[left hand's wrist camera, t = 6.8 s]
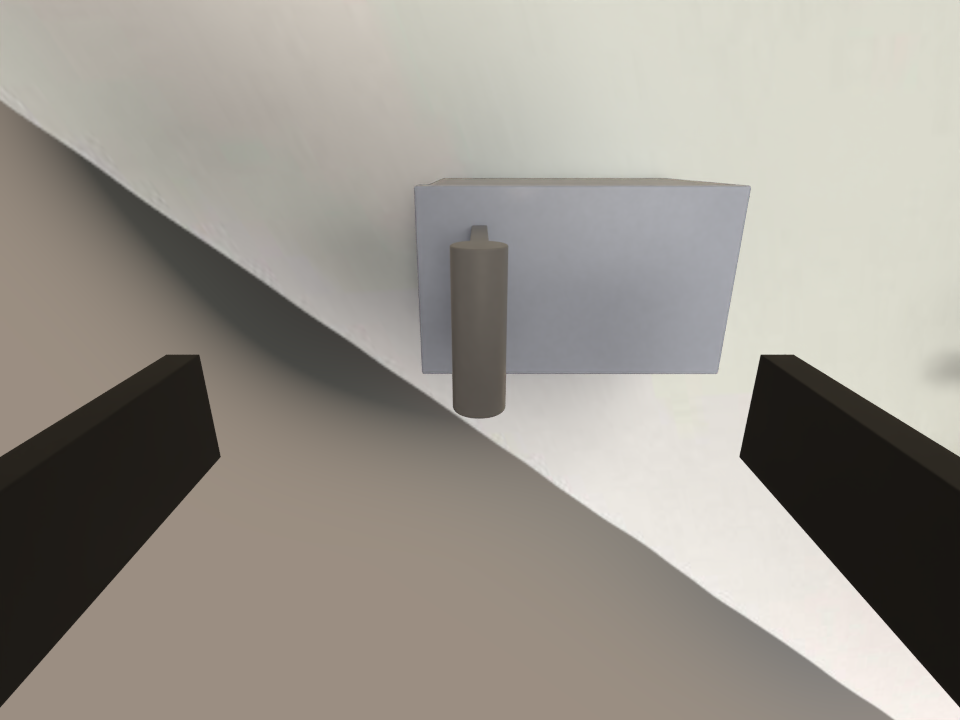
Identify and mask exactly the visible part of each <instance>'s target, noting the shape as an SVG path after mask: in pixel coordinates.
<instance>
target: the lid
mask: <svg viewBox="0 0 960 720" xmlns="http://www.w3.org/2000/svg"><path fill="white" fill-rule="evenodd" d="M750 190H751V187H750V186H746V185H417V186H415V187H414V195H415V218H416V241H417V264H418V287H419V310H420V333H421V356H422V372H423V373H424V374H452V379H453V408H454V410H455V411H456V412H457V413H458V414H460V415H462V416H465V417H469V418H490V417H494V416H496V415H499V414H500V413H502V412H503V411H504V409H505V395H506V374H717V373H718V368H719V362H720V357H721V351H722V346H723V340H724V335H725V329H726V323H727V318H728V312H729V307H730V301H731V296H732V290H733V284H734V279H735V273H736V268H737V262H738V257H739V251H740V245H741V240H742V234H743V229H744V223H745V218H746V212H747V206H748V201H749V195H750Z"/></svg>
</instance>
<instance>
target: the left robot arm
mask: <svg viewBox="0 0 960 720" xmlns="http://www.w3.org/2000/svg"><path fill="white" fill-rule="evenodd" d="M220 457H221V456H220V452H219V447H218V442H217V437H216V433H215V428H214V423H213V419H212V414H211V409H210V404H209V399H208V394H207V390H206V385H205V380H204V375H203V370H202V366H201V361H200V356H199V355H165V356H164V357H162V358H160V359H159V360H157V361H156V362H154V363H152V364H151V365H149V366H147V367H146V368H144V369H143V370H141V371H139V372H138V373H136V374H134V375H133V376H131V377H130V378H128V379H126V380H125V381H123V382H121V383H120V384H118V385H116V386H115V387H113V388H112V389H110V390H108V391H107V392H105V393H103V394H102V395H100V396H99V397H97V398H95V399H94V400H92V401H90V402H89V403H87V404H86V405H84V406H82V407H81V408H79V409H78V410H76V411H74V412H73V413H71V414H69V415H68V416H66V417H64V418H63V419H61V420H60V421H58V422H56V423H55V424H53V425H51V426H50V427H48V428H47V429H45V430H43V431H42V432H40V433H39V434H37V435H35V436H34V437H32V438H30V439H29V440H27V441H25V442H24V443H22V444H21V445H19V446H17V447H16V448H14V449H13V450H11V451H9V452H8V453H6V454H4V455H3V456H1V457H0V707H1V706H2V705H3V704H4V703H5V701H6V700H7V699H8V698H9V697H10V696H11V695H12V693H13V692H14V691H15V690H16V689H17V688H18V687H19V686H20V684H21V683H22V682H23V681H24V680H25V679H26V678H27V676H28V675H29V674H30V673H31V672H32V671H33V670H34V668H35V667H36V666H37V665H38V664H39V663H40V662H41V660H42V659H43V658H44V657H45V656H46V655H47V654H48V653H49V651H50V650H51V649H52V648H53V647H54V646H55V645H56V643H57V642H58V641H59V640H60V639H61V638H62V637H63V635H64V634H65V633H66V632H67V631H68V630H69V629H70V628H71V626H72V625H73V624H74V623H75V622H76V621H77V620H78V618H79V617H80V616H81V615H82V614H83V613H84V612H85V610H86V609H87V608H88V607H89V606H90V605H91V604H92V602H93V601H94V600H95V599H96V598H97V597H98V596H99V595H100V593H101V592H102V591H103V590H104V589H105V588H106V587H107V585H108V584H109V583H110V582H111V581H112V580H113V579H114V578H115V576H116V575H117V574H118V573H119V572H120V571H121V570H122V568H123V567H124V566H125V565H126V564H127V563H128V562H129V560H130V559H131V558H132V557H133V556H134V555H135V554H136V552H137V551H138V550H139V549H140V548H141V547H142V546H143V545H144V543H145V542H146V541H147V540H148V539H149V538H150V536H151V535H152V534H153V533H154V532H155V531H156V530H157V529H158V527H159V526H160V525H161V524H162V523H163V522H164V521H165V520H166V518H167V517H168V516H169V515H170V514H171V513H172V512H173V510H174V509H175V508H176V507H177V506H178V505H179V504H180V502H181V501H182V500H183V499H184V498H185V497H186V496H187V494H188V493H189V492H190V491H191V490H192V489H193V488H194V486H195V485H196V484H197V483H198V482H199V481H200V480H201V479H202V477H203V476H204V475H205V474H206V473H207V472H208V471H209V469H210V468H211V467H212V466H213V465H214V464H215V463H216V462H217V460H218V459H219V458H220ZM739 457H740V458H741V459H742V460H743V462H744V463H745V464H746V465H747V466H748V467H749V468H750V469H751V471H752V472H753V473H754V474H755V475H756V476H757V477H758V479H759V480H760V481H761V482H762V483H763V484H764V485H765V487H766V488H767V489H768V490H769V491H770V492H771V493H772V494H773V496H774V497H775V498H776V499H777V500H778V501H779V502H780V504H781V505H782V506H783V507H784V508H785V509H786V510H787V512H788V513H789V514H790V515H791V516H792V517H793V518H794V520H795V521H796V522H797V523H798V524H799V525H800V526H801V527H802V529H803V530H804V531H805V532H806V533H807V534H808V535H809V537H810V538H811V539H812V540H813V541H814V542H815V543H816V545H817V546H818V547H819V548H820V549H821V550H822V551H823V552H824V554H825V555H826V556H827V557H828V558H829V559H830V560H831V562H832V563H833V564H834V565H835V566H836V567H837V568H838V570H839V571H840V572H841V573H842V574H843V575H844V576H845V578H846V579H847V580H848V581H849V582H850V583H851V584H852V585H853V587H854V588H855V589H856V590H857V591H858V592H859V593H860V595H861V596H862V597H863V598H864V599H865V600H866V601H867V603H868V604H869V605H870V606H871V607H872V608H873V609H874V610H875V612H876V613H877V614H878V615H879V616H880V617H881V618H882V620H883V621H884V622H885V623H886V624H887V625H888V626H889V628H890V629H891V630H892V631H893V632H894V633H895V634H896V635H897V637H898V638H899V639H900V640H901V641H902V642H903V643H904V645H905V646H906V647H907V648H908V649H909V650H910V651H911V653H912V654H913V655H914V656H915V657H916V658H917V659H918V661H919V662H920V663H921V664H922V665H923V666H924V667H925V668H926V670H927V671H928V672H929V673H930V674H931V675H932V676H933V678H934V679H935V680H936V681H937V682H938V683H939V684H940V686H941V687H942V688H943V689H944V690H945V691H946V692H947V693H948V695H949V696H950V697H951V698H952V699H953V700H954V701H955V703H956V704H957V705H958V706H959V707H960V457H959V456H957V455H956V454H954V453H952V452H951V451H949V450H948V449H946V448H944V447H943V446H941V445H939V444H938V443H936V442H935V441H933V440H931V439H930V438H928V437H926V436H925V435H923V434H922V433H920V432H918V431H917V430H915V429H913V428H912V427H910V426H909V425H907V424H905V423H904V422H902V421H900V420H899V419H897V418H896V417H894V416H892V415H891V414H889V413H887V412H886V411H884V410H883V409H881V408H879V407H878V406H876V405H874V404H873V403H871V402H870V401H868V400H866V399H865V398H863V397H861V396H860V395H858V394H857V393H855V392H853V391H852V390H850V389H848V388H847V387H845V386H844V385H842V384H840V383H839V382H837V381H835V380H834V379H832V378H830V377H829V376H827V375H826V374H824V373H822V372H821V371H819V370H817V369H816V368H814V367H813V366H811V365H809V364H808V363H806V362H804V361H803V360H801V359H800V358H798V357H796V356H795V355H761V356H760V361H759V366H758V370H757V375H756V380H755V385H754V390H753V394H752V399H751V404H750V409H749V413H748V418H747V423H746V428H745V433H744V437H743V442H742V447H741V452H740V456H739Z"/></svg>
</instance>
